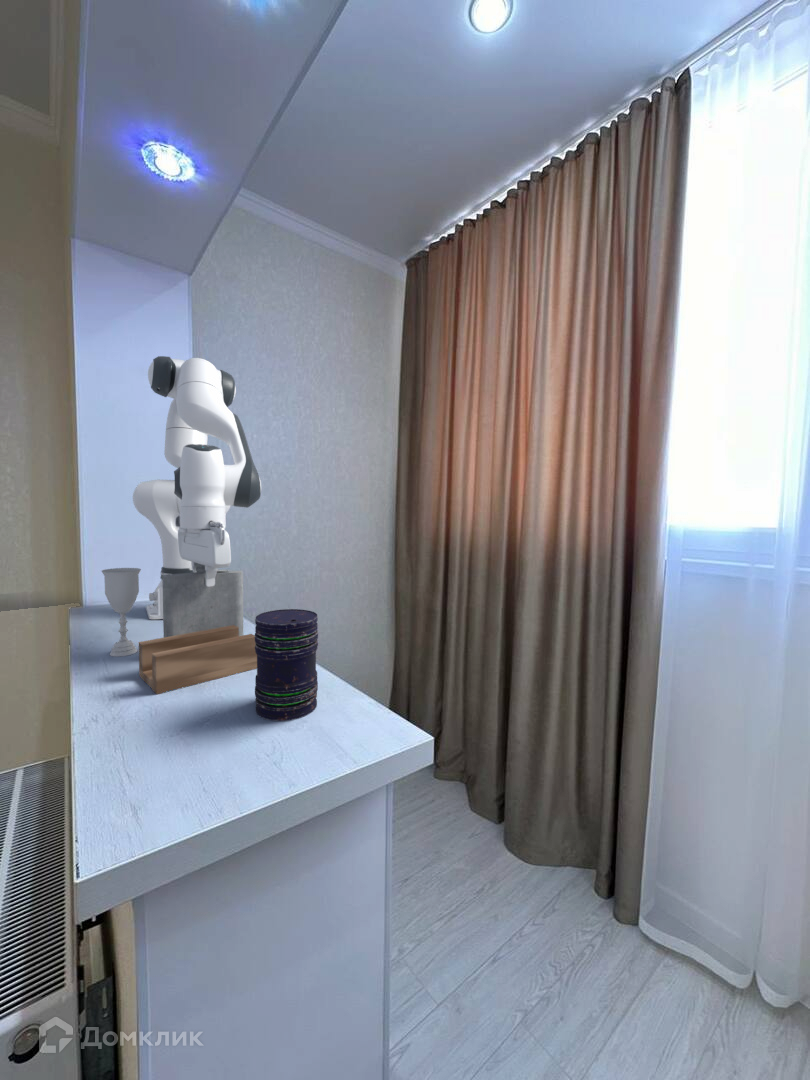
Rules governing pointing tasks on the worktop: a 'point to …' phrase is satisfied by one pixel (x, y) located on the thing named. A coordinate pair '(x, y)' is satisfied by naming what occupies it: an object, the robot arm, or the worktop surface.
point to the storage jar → (286, 664)
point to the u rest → (195, 657)
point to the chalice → (122, 602)
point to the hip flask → (202, 602)
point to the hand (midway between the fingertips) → (204, 584)
